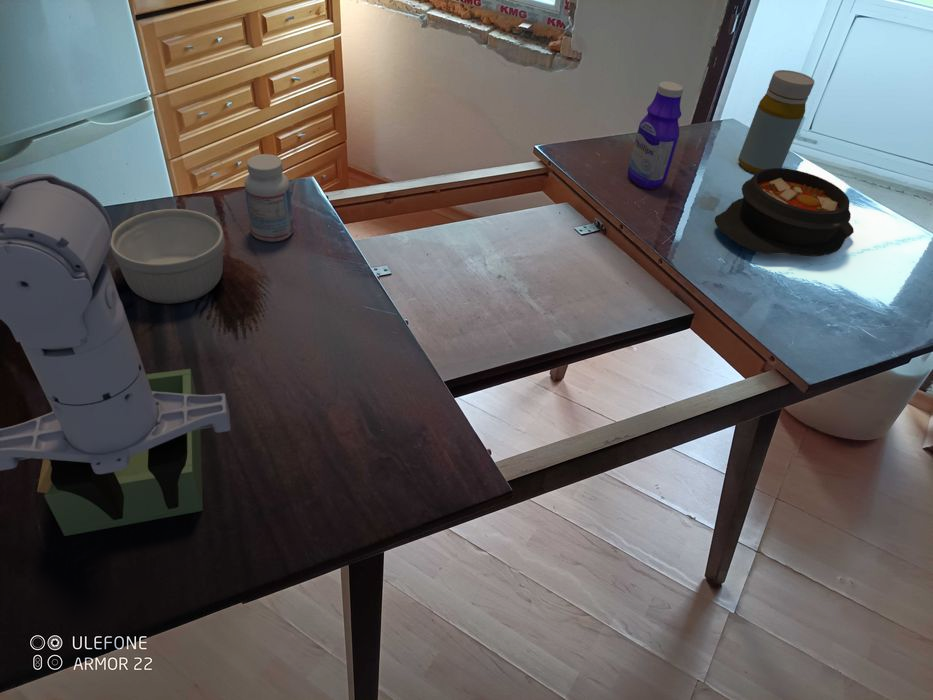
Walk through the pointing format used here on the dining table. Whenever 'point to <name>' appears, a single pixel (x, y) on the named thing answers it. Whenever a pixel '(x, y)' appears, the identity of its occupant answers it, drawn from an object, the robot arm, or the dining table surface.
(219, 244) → the ramekin
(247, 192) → the pill bottle
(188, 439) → the green open cubby
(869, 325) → the dining table surface
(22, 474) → the dining table surface
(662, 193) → the dining table surface
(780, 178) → the casserole
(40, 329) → the robot arm
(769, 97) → the bottle
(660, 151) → the bottle
